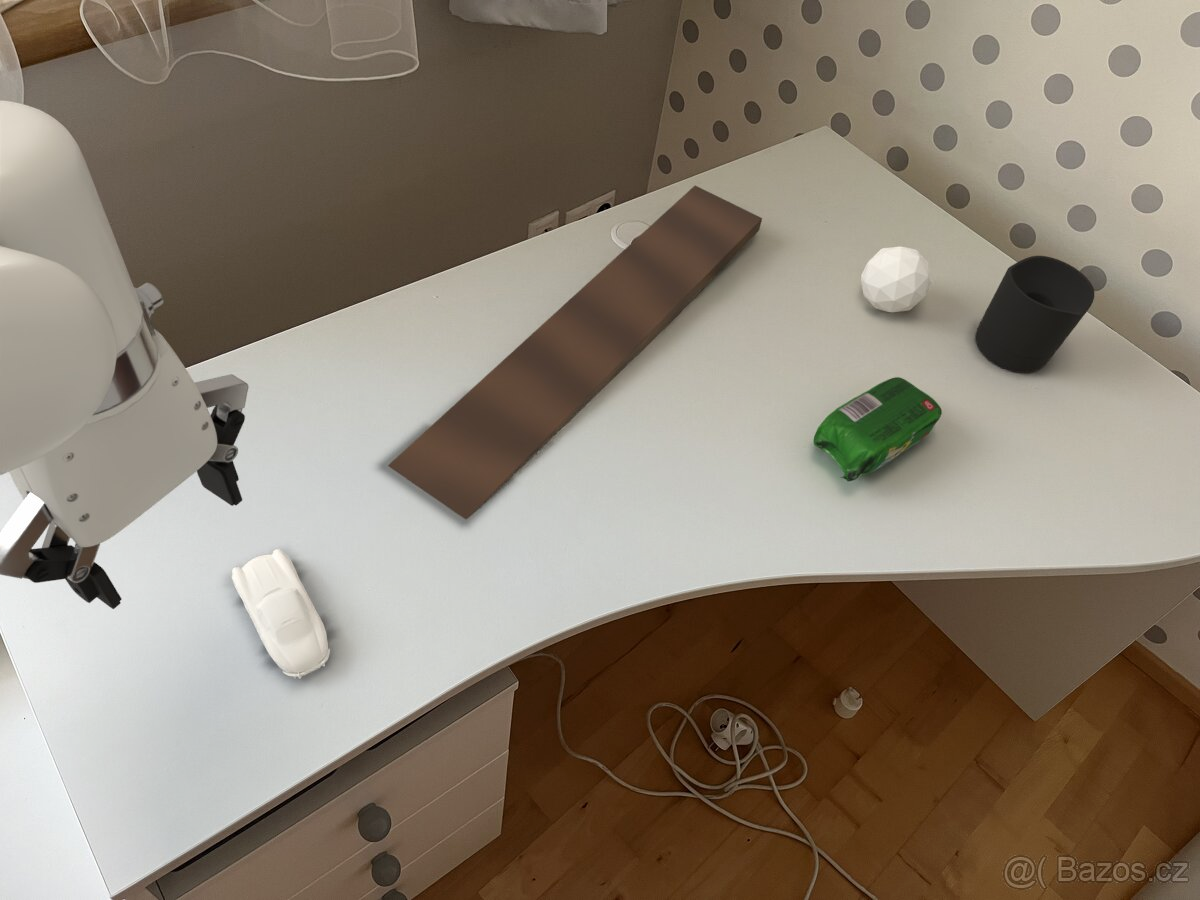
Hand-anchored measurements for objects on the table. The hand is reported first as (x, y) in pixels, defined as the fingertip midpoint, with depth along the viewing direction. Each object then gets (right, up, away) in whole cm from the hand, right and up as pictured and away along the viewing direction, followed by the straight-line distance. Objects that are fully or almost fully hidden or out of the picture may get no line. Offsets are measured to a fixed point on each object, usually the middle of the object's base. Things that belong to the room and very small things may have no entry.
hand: (165, 541), depth 58 cm
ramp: (+28, +17, +43) cm, 54 cm away
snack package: (+57, +6, +36) cm, 67 cm away
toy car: (+2, -8, +17) cm, 19 cm away
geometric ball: (+63, +24, +50) cm, 84 cm away
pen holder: (+77, +18, +47) cm, 92 cm away
